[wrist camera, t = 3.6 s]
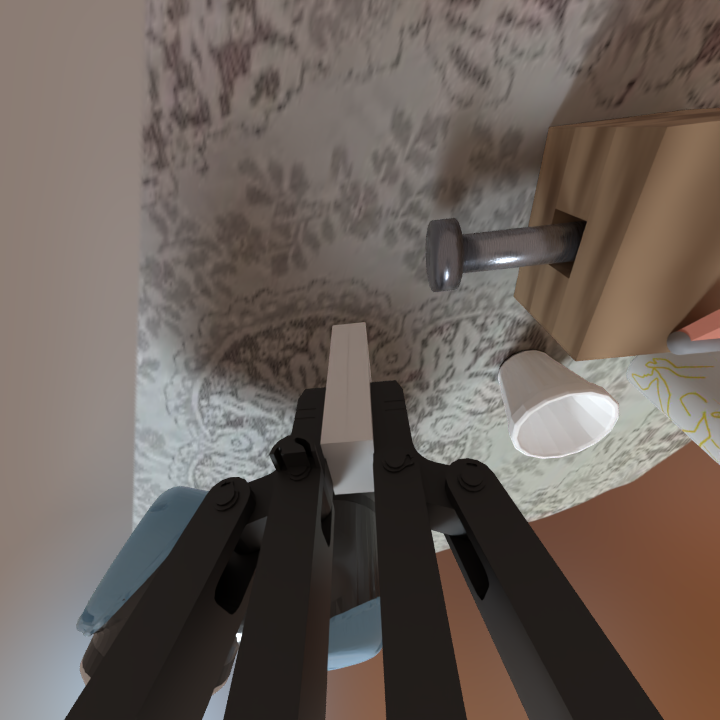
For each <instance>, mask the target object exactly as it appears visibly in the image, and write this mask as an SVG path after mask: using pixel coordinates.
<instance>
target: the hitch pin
mask: <svg viewBox="0 0 720 720" xmlns="http://www.w3.org/2000/svg"><path fill="white" fill-rule="evenodd" d="M586 224H587V221H577V222H568V223H559V224H550V225H542V226H533V227H524V228H515V229H507V230H498V231H489V232H480V233H471V234H463V235H462V232H461V228H460V225H459V222H458V220H457V219H456V218H449V219H440V220H432V221H430V223H429V225H428V229H427V236H426V267H427V275H428V281H429V285H430V288H431V290H432V291H433V292H440V291H449V290H456V289H457V288H458V287H459V285H460V282H461V278H462V273H469V272H478V271H488V270H497V269H506V268H515V267H525V266H534V265H543V264H552V263H562V262H571V261H575V259H576V255H577V252H578V249H579V246H580V243H581V240H582V236H583V233H584V230H585V227H586Z"/></svg>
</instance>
